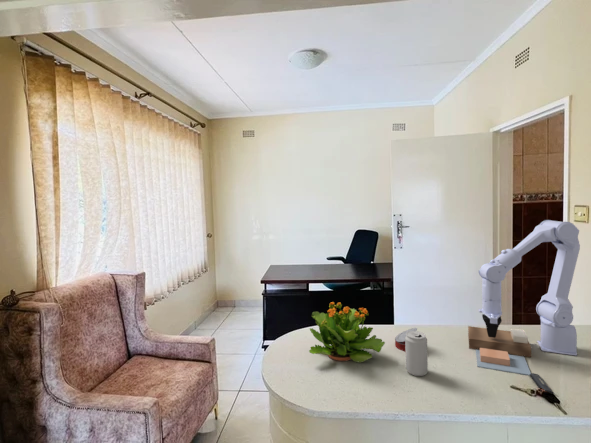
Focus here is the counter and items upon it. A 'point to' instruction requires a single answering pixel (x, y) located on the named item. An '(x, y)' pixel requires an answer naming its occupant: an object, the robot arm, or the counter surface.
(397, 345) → the canned food
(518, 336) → the cream tile
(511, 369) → the mat
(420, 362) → the beverage can
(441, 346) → the counter surface
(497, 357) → the terracotta tile
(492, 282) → the robot arm
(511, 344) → the brown wooden block
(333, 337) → the potted flower
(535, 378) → the usb stick
